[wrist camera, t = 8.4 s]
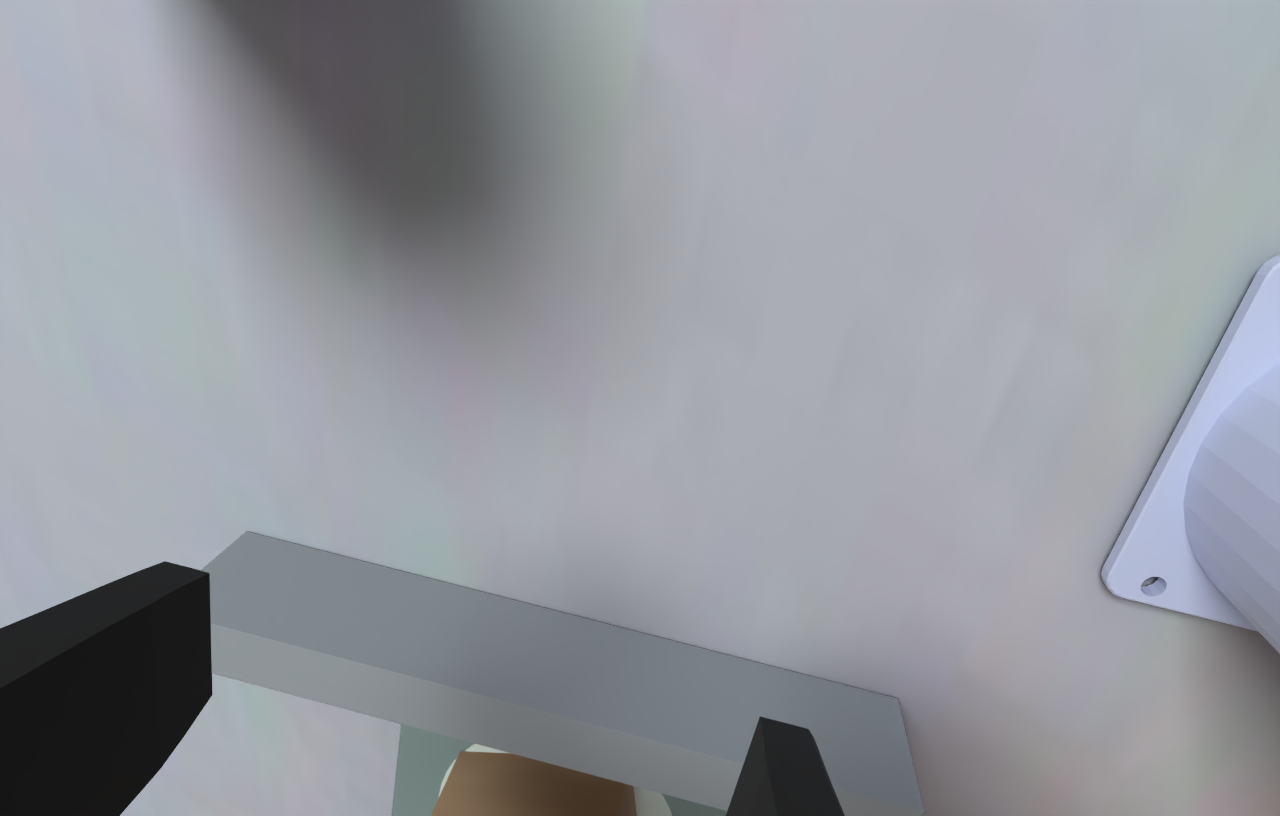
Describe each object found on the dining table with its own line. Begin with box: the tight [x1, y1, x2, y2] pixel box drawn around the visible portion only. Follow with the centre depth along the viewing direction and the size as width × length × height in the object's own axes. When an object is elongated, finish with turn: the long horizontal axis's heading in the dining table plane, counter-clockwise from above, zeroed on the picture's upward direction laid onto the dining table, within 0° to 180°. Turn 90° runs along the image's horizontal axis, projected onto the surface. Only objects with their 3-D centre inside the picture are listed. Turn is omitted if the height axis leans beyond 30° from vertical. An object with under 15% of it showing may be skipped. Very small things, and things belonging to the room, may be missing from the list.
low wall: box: [201, 531, 925, 816], centre depth 19 cm, size 18×2×4 cm, turn 80°
